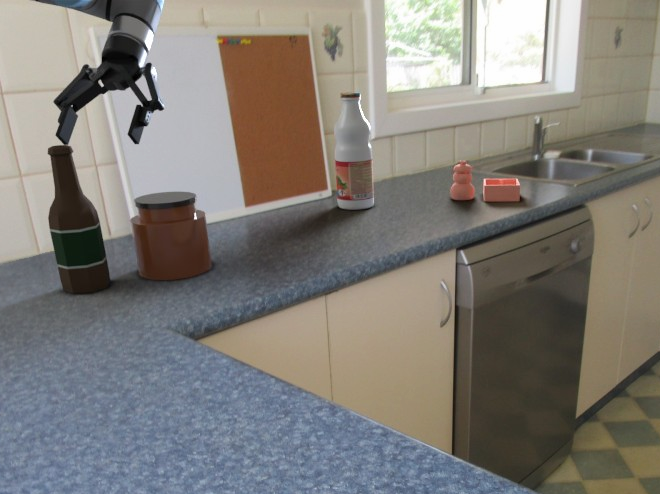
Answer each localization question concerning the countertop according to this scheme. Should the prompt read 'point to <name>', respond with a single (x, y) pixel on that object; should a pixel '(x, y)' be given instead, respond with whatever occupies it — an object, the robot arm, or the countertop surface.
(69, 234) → the beer bottle
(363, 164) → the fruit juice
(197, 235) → the jar
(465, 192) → the pottery
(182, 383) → the countertop surface
